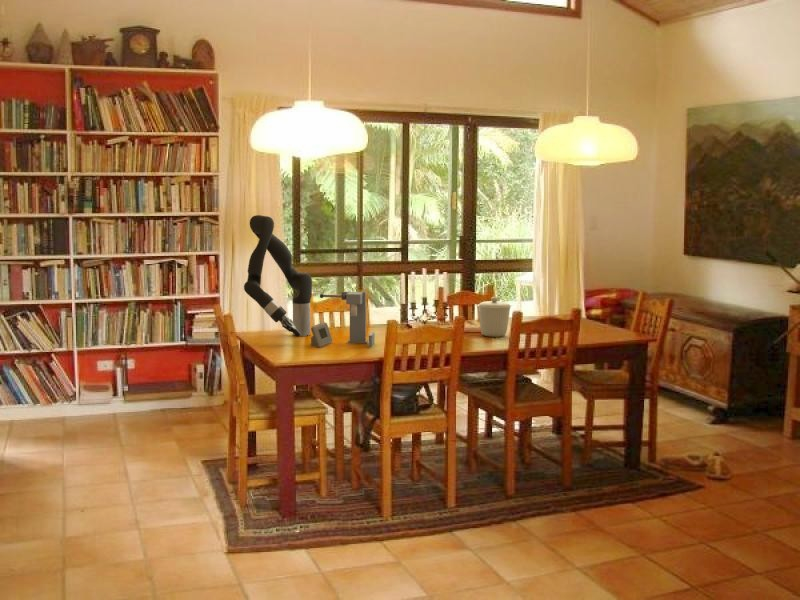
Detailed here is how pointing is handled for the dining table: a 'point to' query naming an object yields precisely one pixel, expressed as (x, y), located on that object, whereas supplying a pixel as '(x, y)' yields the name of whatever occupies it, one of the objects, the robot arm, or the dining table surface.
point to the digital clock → (321, 335)
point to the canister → (494, 317)
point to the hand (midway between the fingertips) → (299, 335)
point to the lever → (333, 296)
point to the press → (358, 318)
